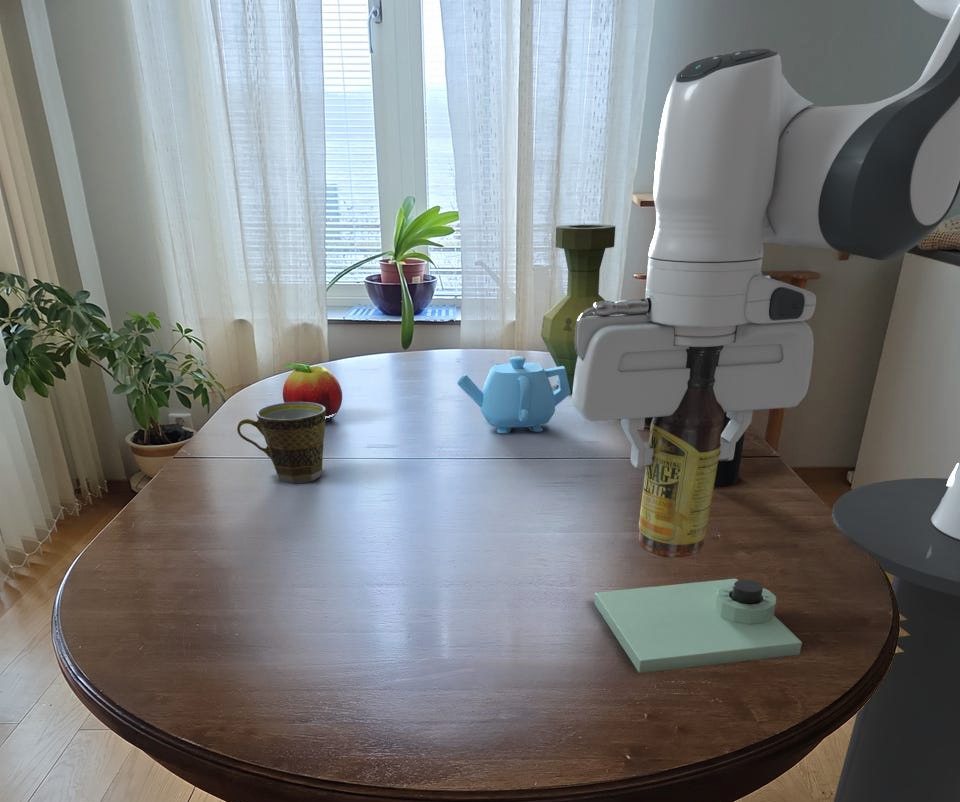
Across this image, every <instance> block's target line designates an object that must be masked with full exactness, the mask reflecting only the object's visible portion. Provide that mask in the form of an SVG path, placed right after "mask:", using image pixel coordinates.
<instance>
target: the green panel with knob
mask: <svg viewBox="0 0 960 802" xmlns="http://www.w3.org/2000/svg"><path fill="white" fill-rule="evenodd" d="M736 581H739V579H737V578H728V579H727V578H726V579H715V580H706V581H697V582H696V581H695V582H687V583H677V584H667V585H658V586H648V587H639V588H638V587H635V588H628V589H618V590H607V591H606V590H605V591H599V592H598V591H596V592H594V601H593V603H594V606H595V607H596V609H597V610H598V612H599V613H600V615H601V616H602V618H603V620H604V621H605V623H606V624H607V626H608V627H609V629H610V630H611V632H612V633H613V635H614V637H615V638H616V640H617V641H618V643H619V645H620V646H621V647H622V649H623V650H624V652H625V654H626V655H627V657H628V658H629V660H630V661H631V663H632V664H633V666H634V667H635V669H636V671H637V672H638V673H639V674H645V673H653V672H663V671H672V670H680V669H689V668H696V667H706V666H713V665H714V666H715V665H724V664H731V663H732V664H733V663H741V662H748V661H749V662H750V661H759V660H765V659H766V660H767V659H774V658H775V659H776V658H782V657H783V658H784V657H792V656H800V654H801V649H802V645H803V642H802V641H801V640H800V638H798V637H797V636H796V635H795V634H794V633H793V632H792V631H791V630H790V628H788V627H787V626H786V625H785V624H784V623H783V622H782V621H781V620H780V619H778V618H777V616H775V610H776V605H777V596H776V595H775V594H774V593H772V592H771V590H770V589H767V588H764V587H763V590H762V596H761V601H760V603H759V604H752V605H748V604H741V603H738V602H736V601H733V600H732V591H733V585H734V583H735V582H736Z"/></svg>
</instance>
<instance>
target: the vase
mask: <svg viewBox="0 0 960 802" xmlns="http://www.w3.org/2000/svg"><path fill="white" fill-rule="evenodd" d="M616 227H617V226H616V225H612V224H599V223H597V224H596V223H595V224H593V223H592V224H591V223H590V224H589V223H588V224H584V223H583V224H580V223H579V224H565V225H557V226H556V227H555V243H554V245H555V248H557V249H562V250H563V252H564V256H565V262H566V267H567V283H566V284H567V285H566V286H567V287H566V288H567V289H566V290H567V291H566V295H565V296H564V297H562V298H561V299H560V300H559V301H557V303H555V304H554V305H553V306H552V307H551V308H550V309H548V311H546V312H545V314H544V315H543V317H542V324H541V332H540V336H541V340H542V341H543V343H544V344H545V346H546V348H547V350H548V353H549V354H550V356H551V358H552V360H553V362H554V364H555V367H560V366H564V367H565V370H566V374H567V379H568V383H569V388H570V392H571V394H572V392H573V383H574V375H575V369H576V363H577V358H578V355H577V352H576V350H575V327H576V323H577V320H578V318H579V317H580V315H581V314H582V313H583V312H584V311H585V310H587V309H588V308H591V307H593V305H594V303H596V302H600V301H606V300H605V298H604V297H602V296H601V295H600V294H599V292H600V275H601V271H600V270H601V267H602V262H603V259H604V255H605V252H606V249H612V248H615V240H616V239H615V238H616ZM614 315H621V314H614ZM587 316H596V315H594V313H590V314H589V315H587ZM557 383H558V381H557V382H556V388H555V390H557V389H558V388H559V385H557ZM571 394H570V395H571Z"/></svg>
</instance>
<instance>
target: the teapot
mask: <svg viewBox="0 0 960 802" xmlns="http://www.w3.org/2000/svg"><path fill="white" fill-rule="evenodd" d="M526 360H527V359H526V357H524V356H511V357H510V358H509V362H507V363H498V364H495V365H493V366H492V367H491V369H490V370H489V372H488V375H487V377H486V379H485V382H484V384H483V386H482V389H480V388H479V387H478V386H477V385H476V384H475V382H474V381H473V380H472V379H471V378H470V377H469V376H468V374H464V375H462V376H461V377H460V378H459V379H458V380H457V382H456V384H457V386H459V387H460V389H462V391H463V392H464V393H465V394H467V396H468V397H469V398H470V399H471V400H472V401H473V402H474V403H476V405H477V406H478V407H479V410H480V413H481V414H482V416H483V418H484V420H485V421H486V422H487V423H488V424H490V425H491V426H494V427H498V428H497V431H496V432H497V433H499V434H508V433H509V434H510V433H511V431H512V428H526V427H528V430H529V432H542V431H543V427H542V426H543V425H546V424H548V423H549V422H550V421H551V419H552V417H554V414H555V412H556V406H558V405H559V404H560V403H561V402H562V401H563V400H565V399H566V398H567V397H569V396H570V395H571V392H570V388H569V383H568V379H567V374H566V370H565V367H564V366H560V367H557V366H554V367H547V368H544V367H543V366H542V365H540V364H539V363H535V362H526ZM556 376H557V382H558V384H559V388H558V389H555V390H553V387H552V384H551V381H550V379H549V378H551V377H556Z"/></svg>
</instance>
